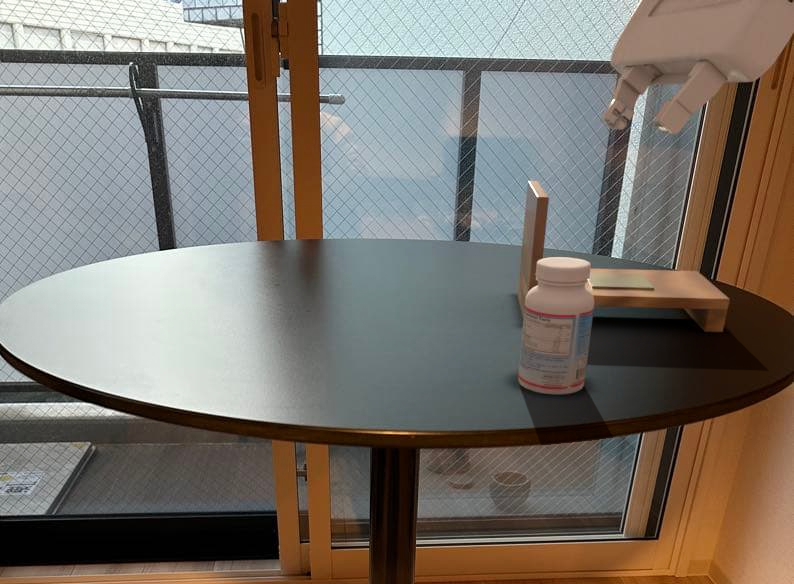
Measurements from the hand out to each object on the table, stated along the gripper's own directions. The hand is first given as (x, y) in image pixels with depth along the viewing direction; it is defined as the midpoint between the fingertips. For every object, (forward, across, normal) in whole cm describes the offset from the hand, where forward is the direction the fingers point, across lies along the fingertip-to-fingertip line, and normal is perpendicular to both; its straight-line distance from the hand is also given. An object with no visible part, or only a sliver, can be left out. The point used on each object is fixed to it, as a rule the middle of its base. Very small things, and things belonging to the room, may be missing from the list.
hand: (635, 127), depth 65 cm
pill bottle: (+21, 0, -8) cm, 22 cm away
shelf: (+11, +23, -21) cm, 33 cm away
